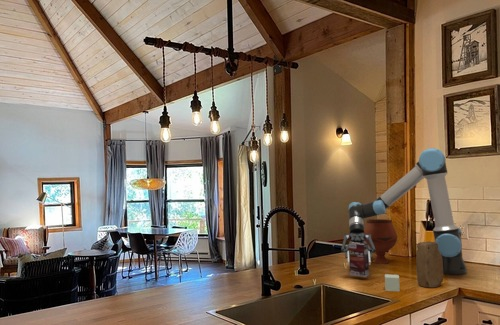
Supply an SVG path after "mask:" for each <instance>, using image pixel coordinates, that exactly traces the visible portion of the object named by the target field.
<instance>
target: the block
mask: <svg viewBox="0 0 500 325" xmlns="http://www.w3.org/2000/svg"><path fill="white" fill-rule="evenodd" d="M415 253H416V257H415V260H416V279H417V283H418V285H420V286H421V287H424V288H428V289H429V288H432V289H433V288H437V287H440V286H441V285H442V283H443V281H444V274H443V260H442V256H441V254H440V251H439V250H438V244H437V243H436V242H435V241H429V240H428V241H420V242H418V243H416V252H415Z"/></svg>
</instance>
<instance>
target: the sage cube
mask: <svg viewBox="0 0 500 325" xmlns="http://www.w3.org/2000/svg"><path fill="white" fill-rule="evenodd" d="M400 285H401V284H400V276H399V274H387V273H385V274H384V286H385V288H384V290H385V292H386V291H387V292H401V291H400Z"/></svg>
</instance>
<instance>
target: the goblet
mask: <svg viewBox="0 0 500 325" xmlns="http://www.w3.org/2000/svg"><path fill="white" fill-rule="evenodd" d="M392 221H393V220H392V219H387V218H386V219H383V218H381V219H380V218H379V219H378V218H377V219H376V218H375V219H374V218H372V219H370V218H369V219H367V220H366V223H365V225H364V233H365V235H369V234H370V235H371V239H372V242H373V244H374V246H375V255H376V257H375V258H374V259H373V263H374V264H381V265H383V264H388V263H389V262H390V260H389V259H388V258H387V257H386V254H387V252H389V251H390V250H392V249H393V248H394V247H395V245H396V244H397V241H398V235H397V234H398V233H397V232H396V229H395V227H394V224H393V222H392ZM365 241H366V243H367V244H368V245H369V247H370V248H371V246H370V244H369V241H368V240H367V238H365ZM371 249H372V248H371Z"/></svg>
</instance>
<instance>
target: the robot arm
mask: <svg viewBox="0 0 500 325" xmlns="http://www.w3.org/2000/svg"><path fill="white" fill-rule="evenodd" d="M446 160H447V159H446V156H445V154H444V153H443V151H442V150H440V149H438V148H435V147H434V148H433V147H431V148H426V149H425V150H423V151H422V152H421V153H420V155H419V158H418V161H417V162H416V163H415V165H414V167H412V169H411V170H410V171H408V172H407V173H406V174H405V175H404V176H402V177H401V178H400V179H398V181H396V182H395V183H394V184H393V185H392V186H391V187H389V188H388V189H387V190H386V191H385V192H384V193H382V194H381V195H380V196H379V197H377V198H376V199H375V200H374V201H370V202H366V203H363V204H362V203H361V202H359V201H357V202H356V201H353V202H351V203H350V204H349V205H348V211H347V213H348V225H349V227H348V228H349V234H343V242H342V245H341V248H340V249H341V251H340V252H341V253H343V254H344V255H345V259H347V266H350V263H349V243H352V242H355V243H366V241H365V238H367V240H368V241H369V244H370V246H371V248H372V249H371V248H370V247H369V245H368V259H369V266H371V265H372V264H371V263H372V261H371V259H373V254H374V253H375V246H374V244H373V242H372V239H371V235H370V234H369V235H365V233H364V228H365V225H364V222H365V221H364V219H368V218H371V217H376V216H380V215H384V214H386V213H387V212H386V210H387V209H388V208H389V207H390V206H392V205H393V204H395V203H396V202H397V201H398V200H400V199H401V198H402V197H403V196H404V195H406V193H408V192H409V191H410V190H411V189H413V188H414V187H415V186H416V185H418V183H420V182H421V181H422V180H423V179H426V183H427V188H428V194H429V198H430V204H431V209H432V214H433V215H432V216H433V221H434V228H433V229H432V232H433V237H434V238H433V239H434V242H436V243H437V244H438V250H439V251H440V254H441V256H442V260H443V275H454V276H455V275H465V274H467V272H468V270H467V266H466V263H465V261H464V258H463V247H462V246H463V244H462V230H461V228H460V227H458V226H457V225H456V224H455V222H454V217H453V216H454V215H453V212H452V207H451V202H450V197H449V191H448V185H447V180H446V176H447V175H448V168H447V163H446ZM349 239H350V240H349ZM348 240H349V242H348V244H347V241H348Z"/></svg>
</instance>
